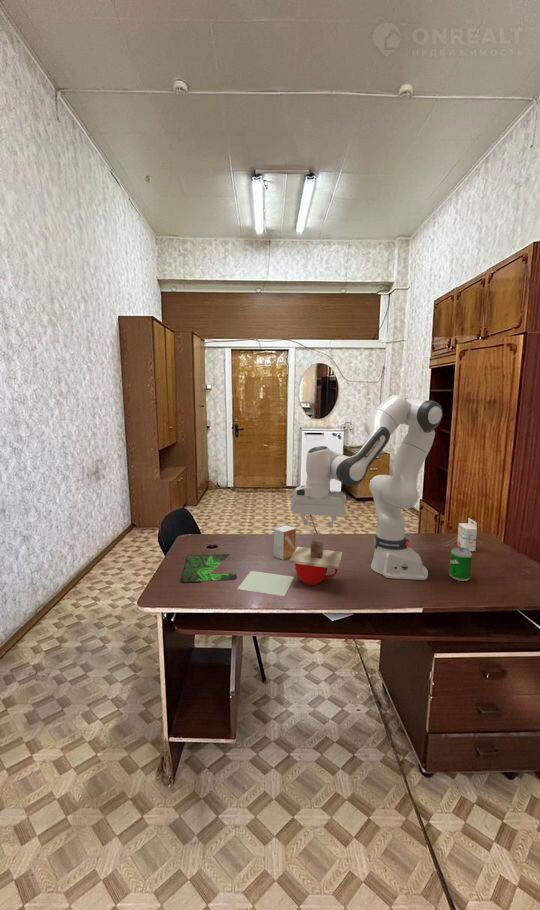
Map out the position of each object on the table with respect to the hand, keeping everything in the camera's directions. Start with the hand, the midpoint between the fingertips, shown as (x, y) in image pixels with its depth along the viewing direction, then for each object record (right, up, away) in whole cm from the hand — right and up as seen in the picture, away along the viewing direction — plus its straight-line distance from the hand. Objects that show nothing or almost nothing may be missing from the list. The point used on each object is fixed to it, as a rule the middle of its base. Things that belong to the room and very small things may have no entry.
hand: (317, 526), depth 143 cm
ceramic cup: (-1, -23, +3) cm, 23 cm away
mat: (-19, -23, +2) cm, 30 cm away
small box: (-12, -19, +29) cm, 37 cm away
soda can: (+57, -23, +8) cm, 62 cm away
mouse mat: (-43, -21, +16) cm, 51 cm away
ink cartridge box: (+76, -19, +39) cm, 87 cm away
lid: (0, -13, +2) cm, 13 cm away
